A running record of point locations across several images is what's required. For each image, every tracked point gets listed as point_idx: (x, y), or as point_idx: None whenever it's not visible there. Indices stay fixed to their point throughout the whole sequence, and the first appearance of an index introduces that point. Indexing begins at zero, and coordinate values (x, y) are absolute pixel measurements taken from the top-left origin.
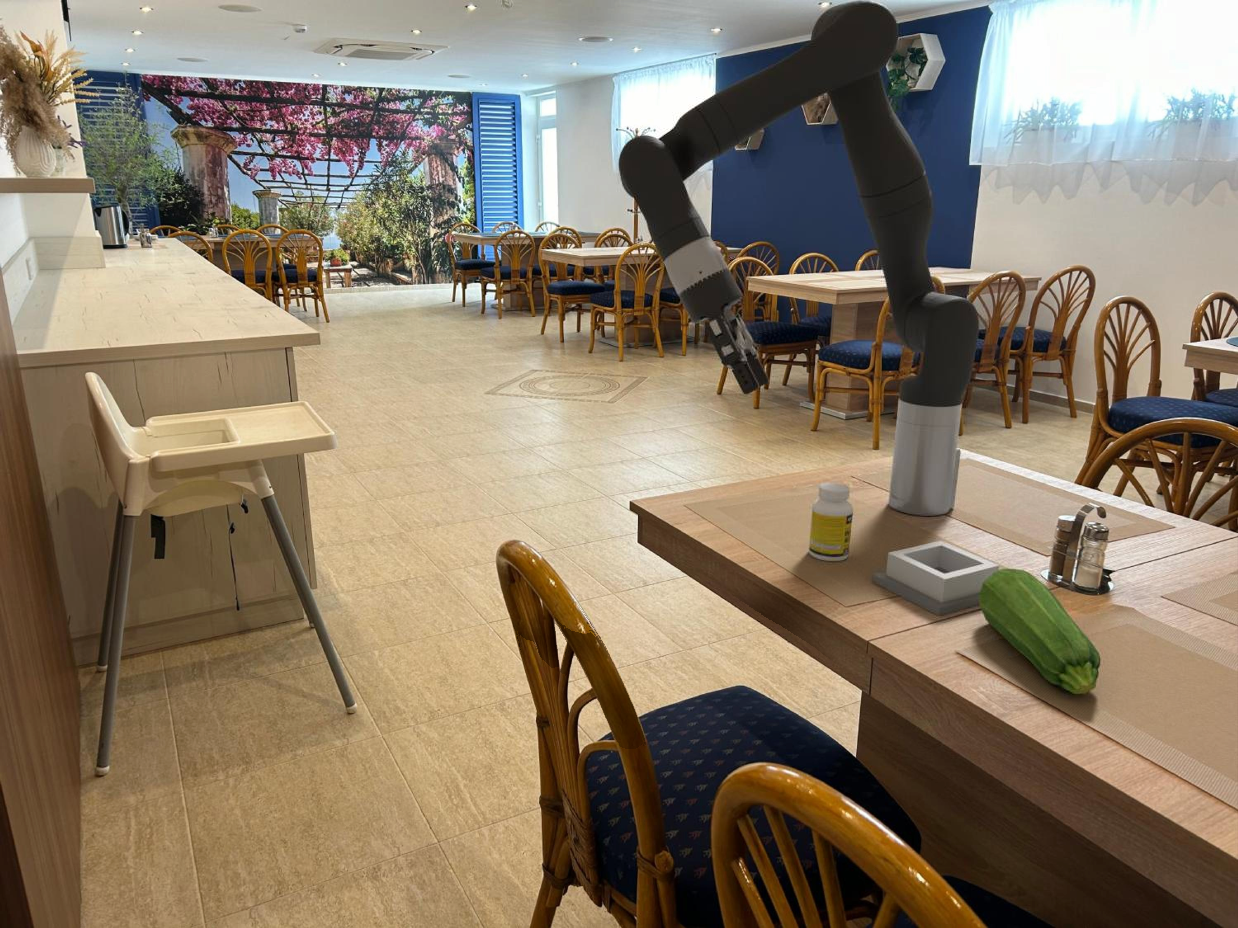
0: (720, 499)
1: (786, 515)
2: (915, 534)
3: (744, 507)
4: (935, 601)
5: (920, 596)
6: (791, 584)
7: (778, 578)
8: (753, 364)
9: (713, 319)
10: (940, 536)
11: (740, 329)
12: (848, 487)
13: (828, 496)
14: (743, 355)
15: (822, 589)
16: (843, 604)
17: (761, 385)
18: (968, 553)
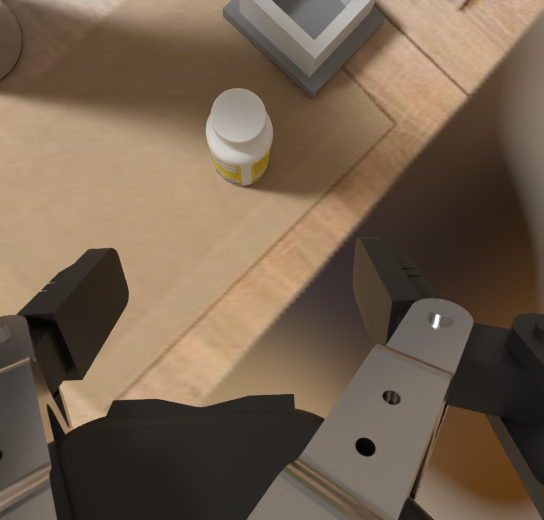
0: None
1: (95, 241)
2: (112, 46)
3: None
4: (369, 20)
5: (361, 36)
6: (356, 192)
7: (344, 210)
8: (77, 326)
9: None
10: (107, 12)
11: (318, 477)
12: (232, 89)
13: (265, 127)
14: (455, 322)
15: (357, 154)
16: (390, 127)
17: (123, 274)
18: None
